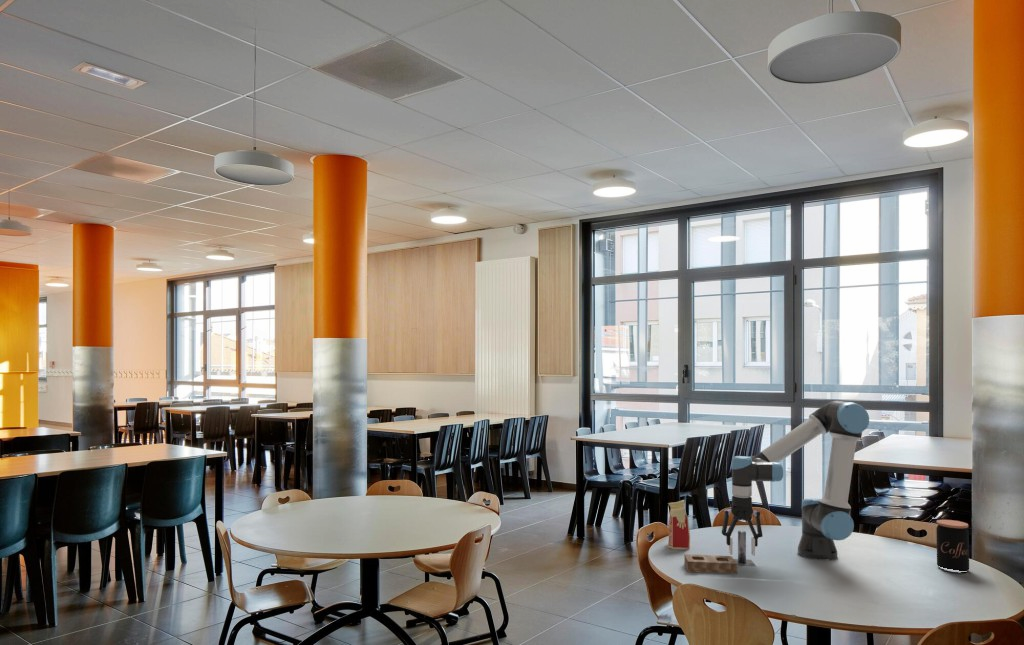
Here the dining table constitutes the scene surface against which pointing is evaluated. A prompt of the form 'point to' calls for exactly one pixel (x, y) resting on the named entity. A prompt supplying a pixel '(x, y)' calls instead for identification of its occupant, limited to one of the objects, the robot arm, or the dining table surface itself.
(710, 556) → the hole block
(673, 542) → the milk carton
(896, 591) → the dining table surface
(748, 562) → the mat
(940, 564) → the coffee jar
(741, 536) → the peg
